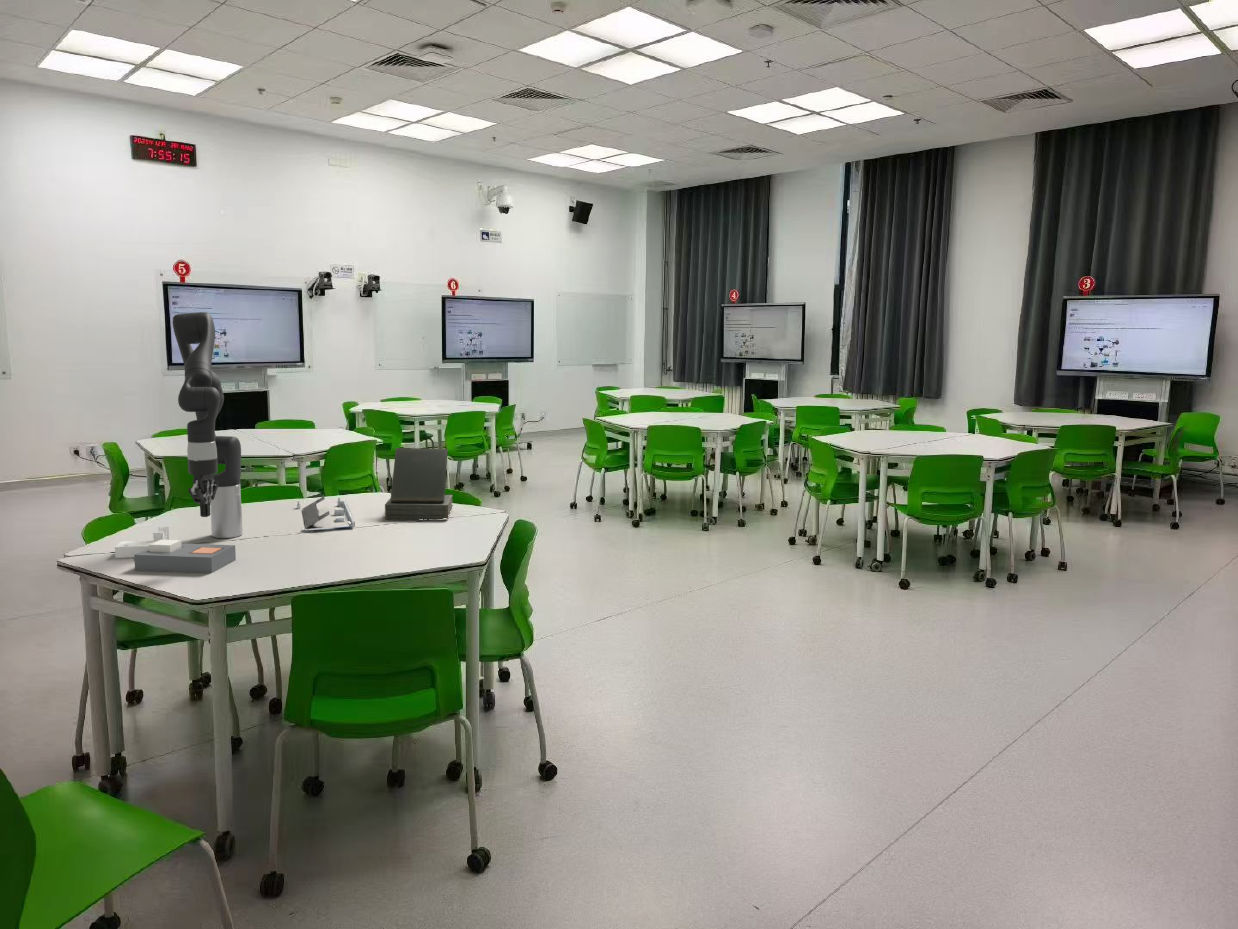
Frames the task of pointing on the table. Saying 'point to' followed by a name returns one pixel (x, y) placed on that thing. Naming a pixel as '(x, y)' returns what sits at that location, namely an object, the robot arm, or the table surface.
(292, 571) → the table surface
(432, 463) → the upright slab on base
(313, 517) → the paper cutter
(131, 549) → the bracket
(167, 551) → the off-white key
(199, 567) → the key panel
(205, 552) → the terracotta key
